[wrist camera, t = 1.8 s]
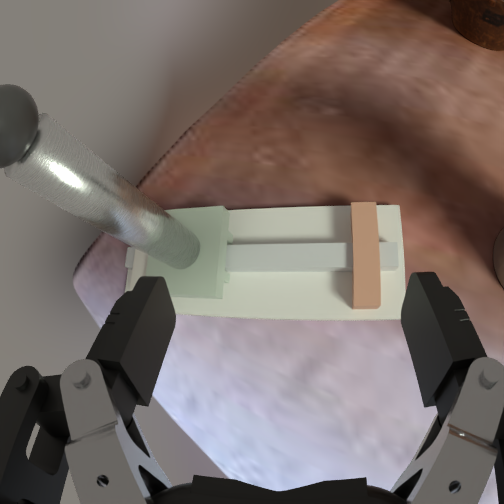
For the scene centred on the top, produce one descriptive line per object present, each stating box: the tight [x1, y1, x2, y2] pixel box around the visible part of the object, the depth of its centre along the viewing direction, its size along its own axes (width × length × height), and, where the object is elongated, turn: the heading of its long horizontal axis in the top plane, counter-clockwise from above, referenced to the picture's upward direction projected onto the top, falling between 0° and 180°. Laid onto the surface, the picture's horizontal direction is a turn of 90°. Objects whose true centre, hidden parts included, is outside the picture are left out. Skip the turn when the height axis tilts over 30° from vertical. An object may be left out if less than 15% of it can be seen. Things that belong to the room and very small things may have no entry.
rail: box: [125, 202, 405, 321], centre depth 33 cm, size 32×12×4 cm, turn 86°
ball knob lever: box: [0, 84, 233, 299], centre depth 22 cm, size 8×9×28 cm
